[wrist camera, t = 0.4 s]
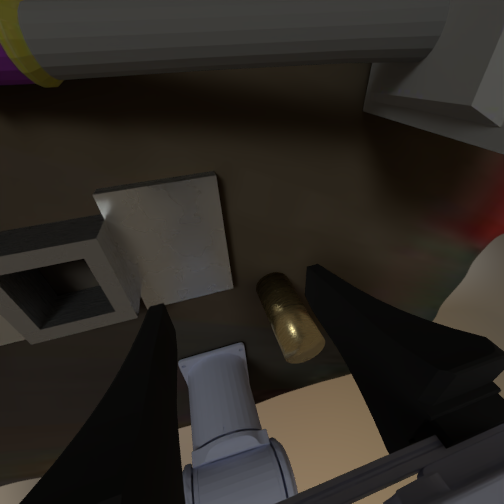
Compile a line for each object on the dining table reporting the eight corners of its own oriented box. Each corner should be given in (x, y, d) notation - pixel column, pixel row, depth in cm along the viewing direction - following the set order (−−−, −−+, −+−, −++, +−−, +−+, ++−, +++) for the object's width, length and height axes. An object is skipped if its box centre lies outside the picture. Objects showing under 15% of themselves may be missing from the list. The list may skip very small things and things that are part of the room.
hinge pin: (287, 293, 28) (322, 355, 22) (257, 301, 27) (284, 367, 21) (288, 268, 26) (327, 330, 19) (255, 276, 25) (285, 343, 19)
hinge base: (231, 281, 24) (239, 307, 22) (-48, 348, 20) (-81, 391, 17) (213, 171, 18) (222, 188, 15) (-203, 235, 14) (-297, 275, 11)
